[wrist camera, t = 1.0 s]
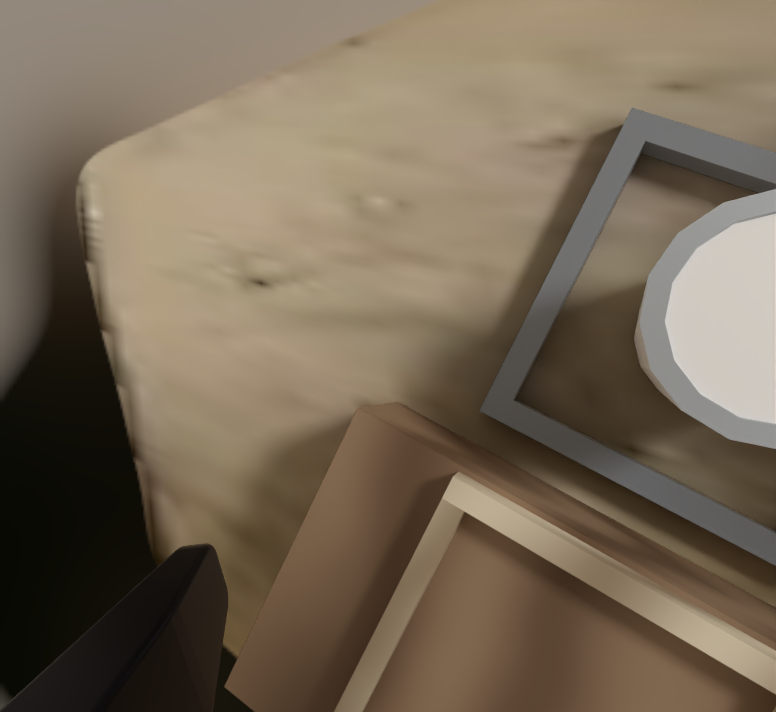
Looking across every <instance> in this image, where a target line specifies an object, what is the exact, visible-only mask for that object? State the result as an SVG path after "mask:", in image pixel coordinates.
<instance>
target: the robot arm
mask: <svg viewBox="0 0 776 712" xmlns="http://www.w3.org/2000/svg"><path fill="white" fill-rule="evenodd" d="M227 609H228V591H227V587H226V583H225V580H224V577H223V573H222V570H221V566H220V563H219V560H218V556H217V553H216V550H215V549H214V547H213V546H212V545H210V544H197V545H188V546H183V547H180V548H179V549H177V550H176V551H175V552H174V553H173V554H172V555H170V556H169V557H168V558H167V559H166V560H165V561H164V562H163V563H162V564H161V565H159V566H158V567H157V568H156V569H155V570H154V571H153V572H152V573H151V574H150V575H148V576H147V577H146V578H145V579H144V580H143V581H142V582H141V583H140V584H139V585H137V586H136V587H135V588H134V589H133V590H132V591H131V592H130V593H129V594H128V595H126V596H125V597H124V598H123V599H122V600H121V601H120V602H119V603H118V604H116V605H115V606H114V607H113V608H112V609H111V610H110V611H109V612H108V613H107V614H105V615H104V616H103V617H102V618H101V619H100V620H99V621H98V622H97V623H96V624H95V625H93V626H92V627H91V628H90V629H89V630H88V631H87V632H86V633H85V634H83V635H82V636H81V637H80V638H79V639H78V640H77V641H76V642H75V643H74V644H72V645H71V646H70V647H69V648H68V649H67V650H66V651H65V652H64V653H63V654H61V655H60V656H59V657H58V658H57V659H56V660H55V661H54V662H53V663H52V664H50V665H49V666H48V667H47V668H46V669H45V670H44V671H43V672H42V673H41V674H40V675H38V676H37V677H36V678H35V679H34V680H33V681H32V682H31V683H30V684H28V685H27V686H26V687H25V688H24V689H23V690H22V691H21V692H20V693H18V694H17V695H16V696H15V697H14V698H13V699H12V700H11V701H10V702H9V703H8V704H7V705H5V706H4V707H3V708H2V709H1V710H0V712H212V710H213V705H214V698H215V691H216V684H217V678H218V671H219V664H220V657H221V650H222V644H223V637H224V630H225V623H226V616H227Z"/></svg>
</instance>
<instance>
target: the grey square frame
mask: <svg viewBox="0 0 776 712" xmlns="http://www.w3.org/2000/svg"><path fill="white" fill-rule="evenodd" d="M641 154H644V155H647V156H650V157H653V158H656V159H659V160H662V161H665V162H668V163H671V164H674V165H677V166H680V167H683V168H686V169H689V170H692V171H695V172H698V173H701V174H704V175H707V176H710V177H713V178H716V179H718V180H721V181H724V182H727V183H730V184H733V185H736V186H739V187H742V188H745V189H748V190H751V191H754V192H757V193H762V192H766V191H770V190H774V189H776V153H775V152H771V151H768V150H765V149H762V148H759V147H755V146H752V145H749V144H746V143H743V142H740V141H736V140H733V139H730V138H727V137H724V136H720V135H717V134H714V133H711V132H708V131H705V130H701V129H698V128H695V127H692V126H689V125H685V124H682V123H679V122H676V121H673V120H670V119H666V118H663V117H660V116H657V115H654V114H650V113H647V112H644V111H641V110H638V109H635V108H632V109H631V111H630V113H629V115H628V117H627V119H626V121H625V123H624V125H623V127H622V129H621V131H620V133H619V135H618V137H617V139H616V141H615V143H614V145H613V147H612V149H611V151H610V152H609V154H608V156H607V158H606V160H605V162H604V164H603V166H602V168H601V170H600V172H599V174H598V176H597V178H596V180H595V182H594V184H593V186H592V188H591V190H590V192H589V194H588V196H587V198H586V200H585V202H584V204H583V206H582V208H581V210H580V212H579V214H578V216H577V218H576V220H575V222H574V224H573V226H572V228H571V230H570V232H569V234H568V236H567V238H566V240H565V242H564V244H563V246H562V248H561V250H560V252H559V254H558V256H557V258H556V260H555V262H554V264H553V266H552V268H551V269H550V271H549V273H548V275H547V277H546V279H545V281H544V283H543V285H542V287H541V289H540V291H539V293H538V295H537V297H536V299H535V301H534V303H533V305H532V307H531V309H530V311H529V313H528V315H527V317H526V319H525V321H524V323H523V325H522V327H521V329H520V331H519V333H518V335H517V337H516V339H515V341H514V343H513V345H512V347H511V349H510V351H509V353H508V355H507V357H506V359H505V361H504V363H503V365H502V367H501V369H500V371H499V373H498V375H497V377H496V379H495V381H494V383H493V385H492V386H491V388H490V390H489V392H488V394H487V396H486V398H485V400H484V402H483V404H482V406H481V408H480V410H479V411H480V412H482V413H484V414H486V415H488V416H490V417H492V418H494V419H496V420H498V421H500V422H502V423H503V424H505V425H507V426H509V427H511V428H513V429H515V430H517V431H519V432H521V433H523V434H524V435H526V436H528V437H530V438H532V439H534V440H536V441H538V442H540V443H542V444H544V445H546V446H547V447H549V448H551V449H553V450H555V451H557V452H559V453H561V454H563V455H565V456H567V457H568V458H570V459H572V460H574V461H576V462H578V463H580V464H582V465H584V466H586V467H588V468H589V469H591V470H593V471H595V472H597V473H599V474H601V475H603V476H605V477H607V478H609V479H611V480H612V481H614V482H616V483H618V484H620V485H622V486H624V487H626V488H628V489H630V490H632V491H633V492H635V493H637V494H639V495H641V496H643V497H645V498H647V499H649V500H651V501H653V502H655V503H656V504H658V505H660V506H662V507H664V508H666V509H668V510H670V511H672V512H674V513H676V514H677V515H679V516H681V517H683V518H685V519H687V520H689V521H691V522H693V523H695V524H697V525H698V526H700V527H702V528H704V529H706V530H708V531H710V532H712V533H714V534H716V535H718V536H720V537H721V538H723V539H725V540H727V541H729V542H731V543H733V544H735V545H737V546H739V547H741V548H742V549H744V550H746V551H748V552H750V553H752V554H754V555H756V556H758V557H760V558H762V559H764V560H765V561H767V562H769V563H771V564H773V565H775V566H776V531H775V530H773V529H771V528H770V527H768V526H766V525H764V524H762V523H760V522H758V521H756V520H754V519H752V518H750V517H748V516H746V515H744V514H742V513H740V512H738V511H736V510H734V509H732V508H730V507H728V506H726V505H724V504H722V503H720V502H718V501H716V500H714V499H712V498H710V497H708V496H706V495H704V494H702V493H700V492H698V491H696V490H694V489H692V488H690V487H688V486H686V485H684V484H682V483H680V482H678V481H676V480H674V479H672V478H671V477H669V476H667V475H665V474H663V473H661V472H659V471H657V470H655V469H653V468H651V467H649V466H647V465H645V464H643V463H641V462H639V461H637V460H635V459H633V458H631V457H629V456H627V455H625V454H623V453H621V452H619V451H617V450H615V449H613V448H611V447H609V446H607V445H605V444H603V443H601V442H599V441H597V440H595V439H593V438H591V437H589V436H587V435H585V434H583V433H581V432H579V431H577V430H575V429H574V428H572V427H570V426H568V425H566V424H564V423H562V422H560V421H558V420H556V419H554V418H552V417H550V416H548V415H546V414H544V413H542V412H540V411H538V410H536V409H534V408H532V407H530V406H528V405H526V404H524V403H522V402H520V401H518V400H516V398H517V396H518V394H519V392H520V390H521V388H522V386H523V384H524V382H525V380H526V378H527V376H528V374H529V372H530V370H531V368H532V366H533V364H534V362H535V360H536V358H537V356H538V354H539V353H540V351H541V349H542V347H543V345H544V343H545V341H546V339H547V337H548V335H549V333H550V331H551V329H552V327H553V325H554V323H555V321H556V319H557V317H558V315H559V313H560V311H561V309H562V307H563V306H564V304H565V302H566V300H567V298H568V296H569V294H570V292H571V290H572V288H573V286H574V284H575V282H576V280H577V278H578V276H579V274H580V272H581V270H582V268H583V266H584V264H585V262H586V260H587V259H588V257H589V255H590V253H591V251H592V249H593V247H594V245H595V243H596V241H597V239H598V237H599V235H600V233H601V231H602V229H603V227H604V225H605V223H606V221H607V219H608V217H609V215H610V213H611V212H612V210H613V208H614V206H615V204H616V202H617V200H618V198H619V196H620V194H621V192H622V190H623V188H624V186H625V184H626V182H627V180H628V178H629V176H630V174H631V172H632V170H633V168H634V166H635V164H636V163H637V161H638V159H639V157H640V155H641Z"/></svg>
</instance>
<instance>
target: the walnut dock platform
mask: <svg viewBox="0 0 776 712" xmlns="http://www.w3.org/2000/svg"><path fill="white" fill-rule="evenodd" d="M224 687H225V688H226V689H228V690H229V691H230V692H231V693H232V694H234V695H235V696H236V697H237V698H239V699H240V700H241V701H242V702H244V703H245V704H246V705H247V706H249V707H250V708H251V709H252V710H253V711H255V712H776V608H775V607H773V606H771V605H769V604H767V603H766V602H764V601H762V600H760V599H758V598H756V597H755V596H753V595H751V594H749V593H747V592H745V591H744V590H742V589H740V588H738V587H736V586H734V585H733V584H731V583H729V582H727V581H725V580H723V579H722V578H720V577H718V576H716V575H714V574H712V573H710V572H709V571H707V570H705V569H703V568H701V567H699V566H698V565H696V564H694V563H692V562H690V561H688V560H687V559H685V558H683V557H681V556H679V555H677V554H676V553H674V552H672V551H670V550H668V549H666V548H665V547H663V546H661V545H659V544H657V543H655V542H654V541H652V540H650V539H648V538H646V537H644V536H642V535H641V534H639V533H637V532H635V531H633V530H631V529H630V528H628V527H626V526H624V525H622V524H620V523H619V522H617V521H615V520H613V519H611V518H609V517H608V516H606V515H604V514H602V513H600V512H598V511H597V510H595V509H593V508H591V507H589V506H587V505H586V504H584V503H582V502H580V501H578V500H576V499H575V498H573V497H571V496H569V495H567V494H565V493H563V492H562V491H560V490H558V489H556V488H554V487H552V486H551V485H549V484H547V483H545V482H543V481H541V480H540V479H538V478H536V477H534V476H532V475H530V474H529V473H527V472H525V471H523V470H521V469H519V468H518V467H516V466H514V465H512V464H510V463H508V462H507V461H505V460H503V459H501V458H499V457H497V456H495V455H494V454H492V453H490V452H488V451H486V450H484V449H483V448H481V447H479V446H477V445H475V444H473V443H472V442H470V441H468V440H466V439H464V438H462V437H461V436H459V435H457V434H455V433H453V432H451V431H450V430H448V429H446V428H444V427H442V426H440V425H439V424H437V423H435V422H433V421H431V420H429V419H428V418H426V417H424V416H422V415H420V414H418V413H416V412H415V411H413V410H411V409H409V408H407V407H405V406H404V405H402V404H400V403H398V402H397V403H390V404H382V405H375V406H368V407H361V408H357V410H356V412H355V415H354V417H353V419H352V421H351V423H350V425H349V427H348V429H347V431H346V433H345V435H344V438H343V440H342V442H341V444H340V446H339V448H338V450H337V452H336V454H335V456H334V458H333V461H332V463H331V465H330V467H329V469H328V471H327V473H326V475H325V477H324V479H323V481H322V483H321V486H320V488H319V490H318V492H317V494H316V496H315V498H314V500H313V502H312V504H311V506H310V509H309V511H308V513H307V515H306V517H305V519H304V521H303V523H302V525H301V527H300V529H299V532H298V534H297V536H296V538H295V540H294V542H293V544H292V546H291V548H290V550H289V552H288V555H287V557H286V559H285V561H284V563H283V565H282V567H281V569H280V571H279V573H278V575H277V577H276V580H275V582H274V584H273V586H272V588H271V590H270V592H269V594H268V596H267V598H266V600H265V603H264V605H263V607H262V609H261V611H260V613H259V615H258V617H257V619H256V621H255V623H254V626H253V628H252V630H251V632H250V634H249V636H248V638H247V640H246V642H245V644H244V646H243V649H242V651H241V653H240V655H239V657H238V659H237V661H236V663H235V665H234V667H233V670H232V672H231V674H230V676H229V678H228V680H227V682H226V684H225V686H224Z"/></svg>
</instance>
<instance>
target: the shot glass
mask: <svg viewBox="0 0 776 712" xmlns="http://www.w3.org/2000/svg"><path fill="white" fill-rule="evenodd" d="M634 343H635V347H636V351H637V355H638V360H639V364H640V367H641V368H642V369H643V371H644V372H645V373H646V375H647V376H648V377H649V379H650V380H651V381H652V383H653V384H654V385H655V387H656V388H657V389H658V390H659V391H660V392H661V393H662V394H663V395H664V396H665V397H667V398H668V399H669V400H670V401H671V402H672V403H674V404H675V405H676V406H677V407H678V408H679V409H680V410H682V411H683V412H685V413H687V414H688V415H690V416H691V417H693V418H695V419H696V420H698V421H700V422H701V423H703V424H705V425H706V426H708V427H710V428H711V429H713V430H714V431H716V432H718V433H719V434H721V435H723V436H724V437H726V438H728V439H730V440H735V441H740V442H744V443H749V444H754V445H759V446H764V447H769V448H774V449H776V189H774V190H770V191H766V192H762V193H758V194H755V195H751V196H747V197H743V198H739V199H735V200H731V201H728V202H724V203H722V204H720V205H719V206H717V207H716V208H714V209H713V210H711V211H710V212H708V213H707V214H705V215H704V216H703V217H701V218H700V219H698V220H697V221H695V222H694V223H692V224H691V225H689V226H688V227H686V228H685V229H683V230H682V231H680V232H679V233H677V235H676V236H675V238H674V239H673V241H672V242H671V244H670V245H669V246H668V248H667V249H666V251H665V252H664V254H663V255H662V257H661V258H660V259H659V261H658V262H657V264H656V265H655V267H654V268H653V270H652V271H651V272H650V274H649V276H648V279H647V283H646V287H645V291H644V295H643V299H642V303H641V306H640V310H639V315H638V320H637V325H636V330H635V335H634Z"/></svg>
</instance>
